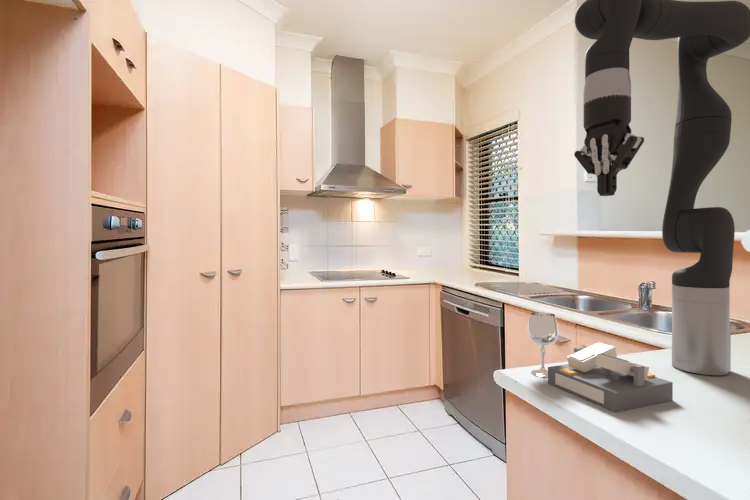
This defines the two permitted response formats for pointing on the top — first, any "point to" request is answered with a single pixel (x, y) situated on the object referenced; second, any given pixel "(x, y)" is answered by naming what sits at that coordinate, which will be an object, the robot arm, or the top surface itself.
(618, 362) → the rocker far
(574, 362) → the block
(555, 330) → the wineglass
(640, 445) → the top surface
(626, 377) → the switch unit
